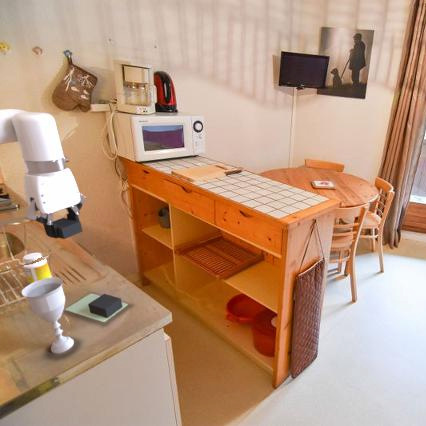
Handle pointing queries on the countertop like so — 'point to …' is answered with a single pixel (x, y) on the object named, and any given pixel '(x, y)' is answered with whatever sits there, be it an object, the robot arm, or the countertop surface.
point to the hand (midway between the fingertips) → (64, 231)
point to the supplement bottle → (36, 268)
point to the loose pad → (67, 227)
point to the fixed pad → (105, 305)
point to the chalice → (49, 307)
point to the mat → (83, 308)
